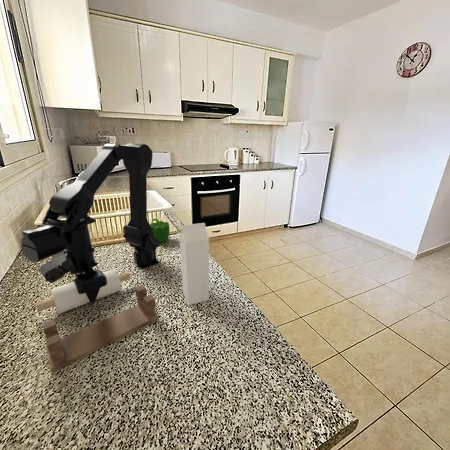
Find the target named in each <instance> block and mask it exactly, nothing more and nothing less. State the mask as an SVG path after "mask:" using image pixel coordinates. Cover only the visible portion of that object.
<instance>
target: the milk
mask: <svg viewBox="0 0 450 450" xmlns="http://www.w3.org/2000/svg"><path fill="white" fill-rule="evenodd" d="M181 228H182V229H181V230H182V231H181V232H179V239H180V240H179V242H180V258H181V259H180V260H181V262H180V263H181V282H182V283H181V284H182V293H183V296H184V298H185V300H186V303H187V305H188V306H191V305H194V304H198V303H203V302H206V301H209V300H210V237H209V234H208V232H207V229H206V223H205V222H201V223H192V224H185V225H184V224H183V225H182V226H181Z"/></svg>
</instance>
